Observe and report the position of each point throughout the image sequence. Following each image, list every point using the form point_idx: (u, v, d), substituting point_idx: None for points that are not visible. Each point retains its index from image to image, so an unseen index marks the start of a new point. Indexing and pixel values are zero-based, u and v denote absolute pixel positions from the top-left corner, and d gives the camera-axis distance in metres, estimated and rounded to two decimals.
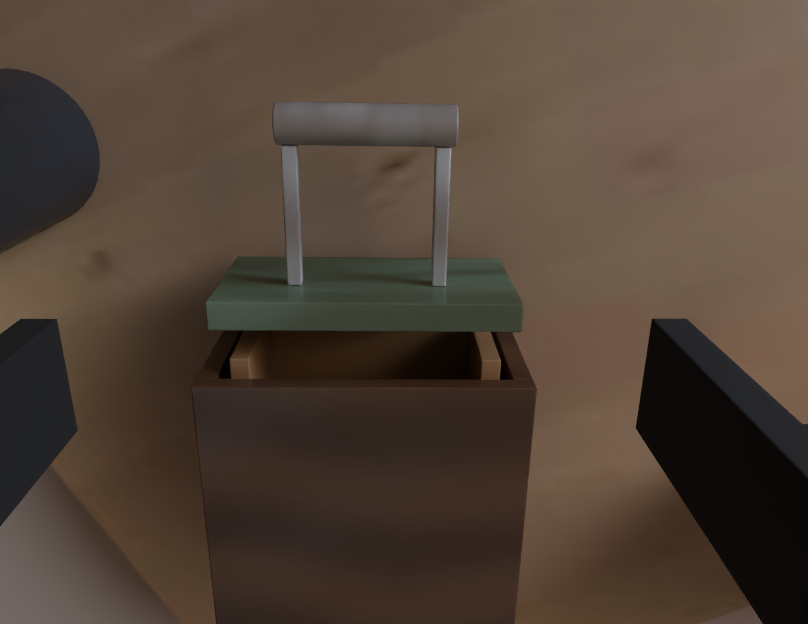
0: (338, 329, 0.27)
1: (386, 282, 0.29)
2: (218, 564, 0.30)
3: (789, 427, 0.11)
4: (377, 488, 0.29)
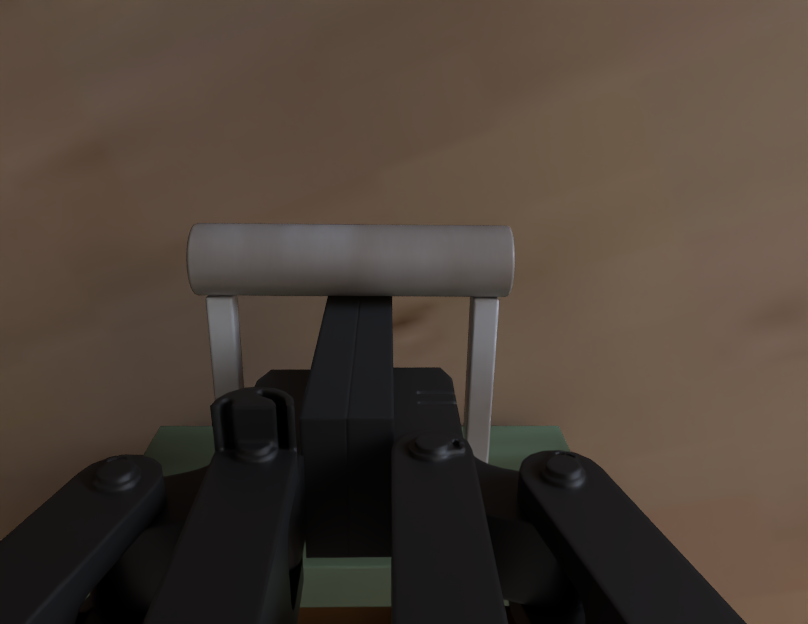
0: (306, 605, 0.16)
1: None
2: None
3: (378, 364, 0.13)
4: None
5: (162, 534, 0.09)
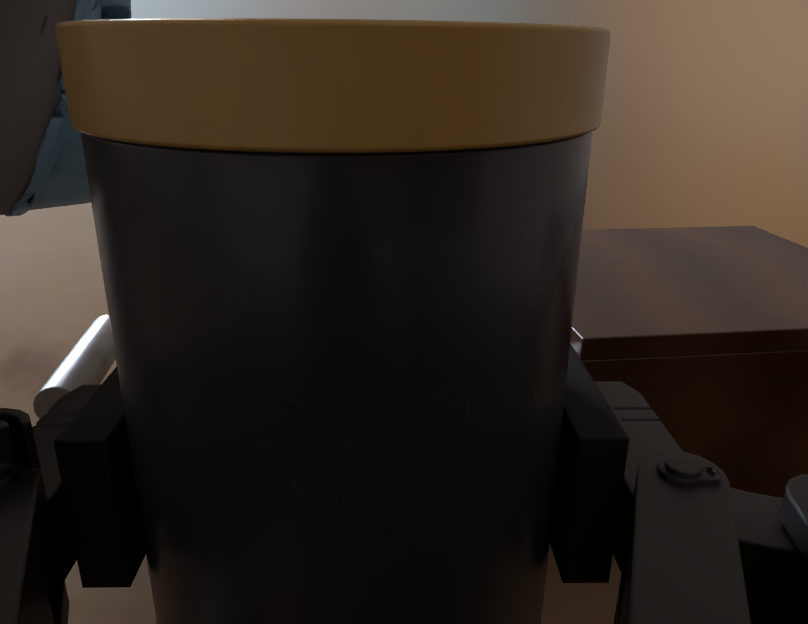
0: None
1: None
2: None
3: (578, 379, 0.12)
4: (625, 266, 0.29)
5: None
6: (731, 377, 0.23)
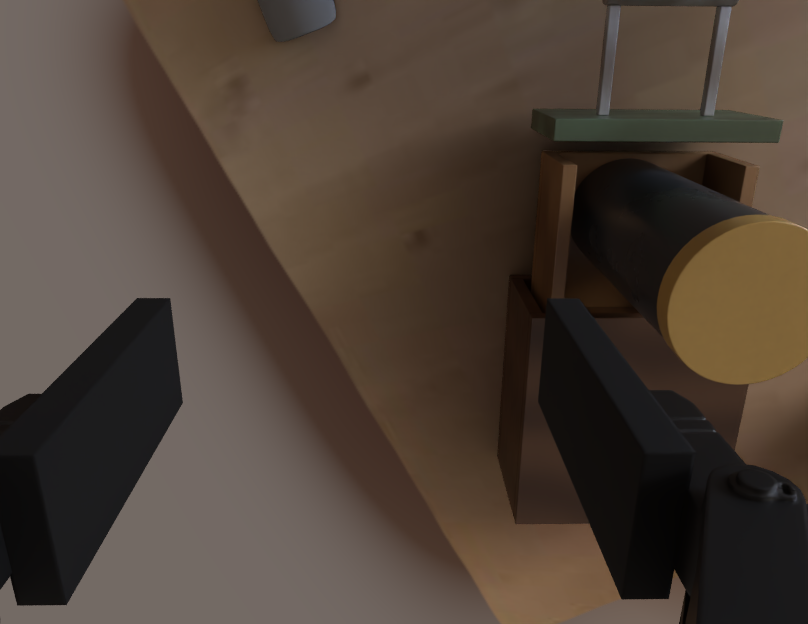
0: (647, 140, 0.37)
1: (667, 115, 0.39)
2: (527, 446, 0.43)
3: (632, 388, 0.12)
4: None
5: None
6: (520, 387, 0.44)
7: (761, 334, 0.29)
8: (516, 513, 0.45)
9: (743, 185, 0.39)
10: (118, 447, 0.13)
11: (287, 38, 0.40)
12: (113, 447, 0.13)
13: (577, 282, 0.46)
